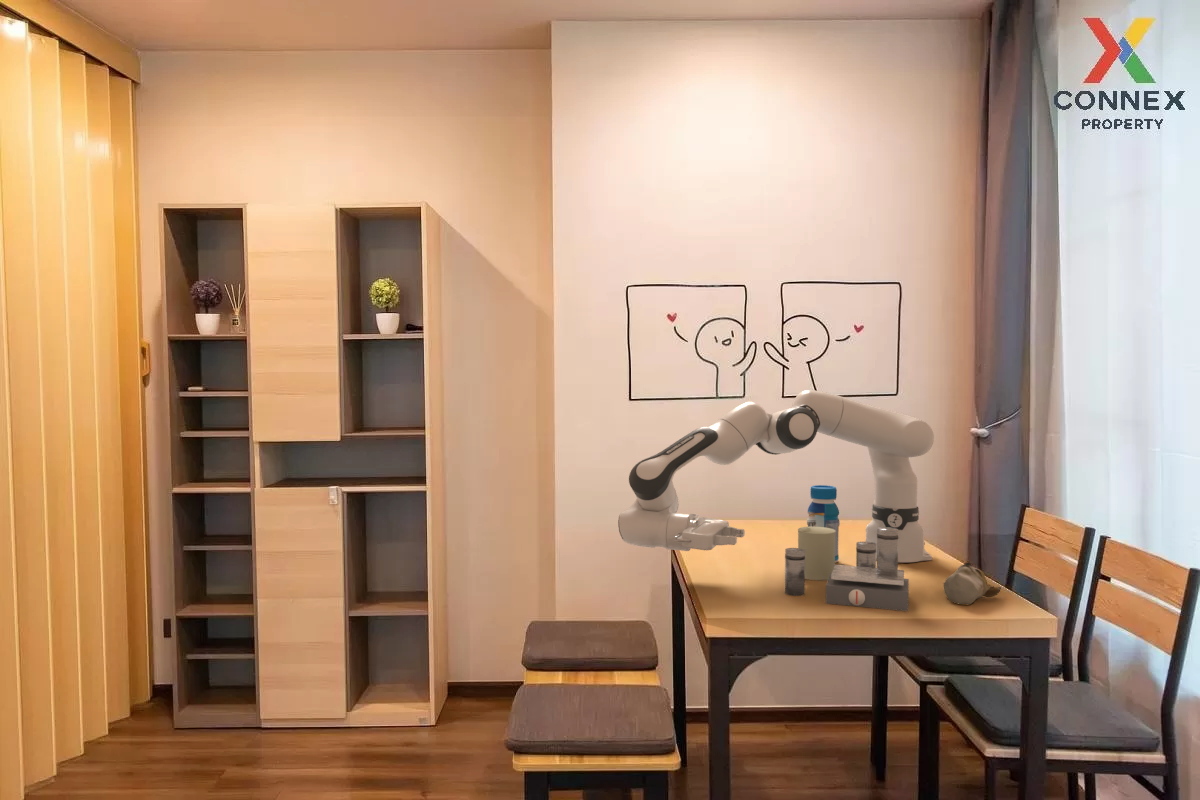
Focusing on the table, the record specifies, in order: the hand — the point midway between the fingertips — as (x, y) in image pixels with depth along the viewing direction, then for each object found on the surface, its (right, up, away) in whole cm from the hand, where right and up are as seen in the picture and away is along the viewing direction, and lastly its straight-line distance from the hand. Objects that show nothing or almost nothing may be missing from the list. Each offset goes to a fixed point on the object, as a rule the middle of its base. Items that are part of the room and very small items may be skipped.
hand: (740, 537), depth 193 cm
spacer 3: (+31, -6, -11) cm, 33 cm away
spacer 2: (+30, -12, +3) cm, 33 cm away
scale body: (+27, -12, -9) cm, 31 cm away
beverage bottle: (+27, -11, +28) cm, 40 cm away
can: (+21, -12, +12) cm, 27 cm away
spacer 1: (+12, -12, -4) cm, 17 cm away
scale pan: (+27, -7, -10) cm, 29 cm away
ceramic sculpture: (+49, -13, -9) cm, 52 cm away
